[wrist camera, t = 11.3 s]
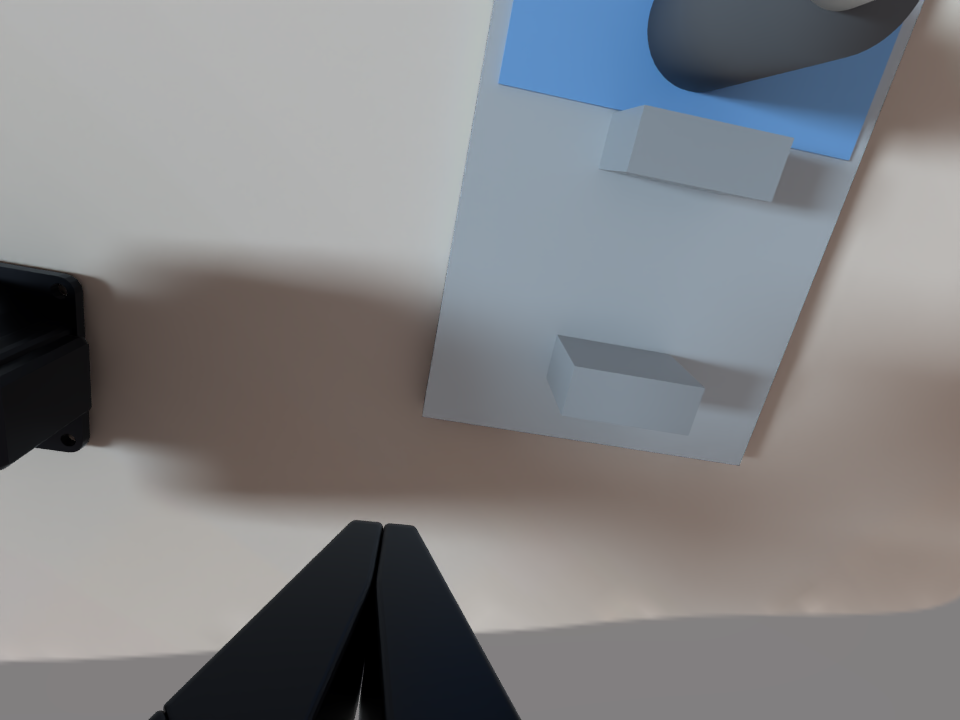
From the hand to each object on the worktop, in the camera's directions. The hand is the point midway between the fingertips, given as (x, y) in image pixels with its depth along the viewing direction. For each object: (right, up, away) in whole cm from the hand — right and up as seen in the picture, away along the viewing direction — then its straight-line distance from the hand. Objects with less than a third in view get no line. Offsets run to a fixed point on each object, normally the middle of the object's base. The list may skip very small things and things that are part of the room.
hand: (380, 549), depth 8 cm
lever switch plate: (+7, +9, +10) cm, 16 cm away
